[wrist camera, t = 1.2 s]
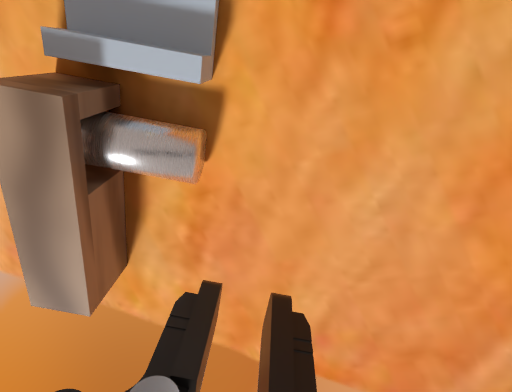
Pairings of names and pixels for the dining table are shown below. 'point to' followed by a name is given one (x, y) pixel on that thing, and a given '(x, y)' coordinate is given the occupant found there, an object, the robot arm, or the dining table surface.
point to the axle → (144, 146)
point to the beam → (60, 190)
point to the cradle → (139, 36)
